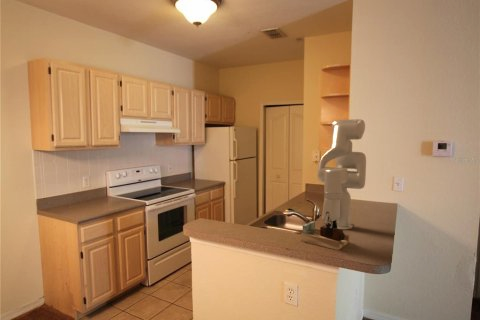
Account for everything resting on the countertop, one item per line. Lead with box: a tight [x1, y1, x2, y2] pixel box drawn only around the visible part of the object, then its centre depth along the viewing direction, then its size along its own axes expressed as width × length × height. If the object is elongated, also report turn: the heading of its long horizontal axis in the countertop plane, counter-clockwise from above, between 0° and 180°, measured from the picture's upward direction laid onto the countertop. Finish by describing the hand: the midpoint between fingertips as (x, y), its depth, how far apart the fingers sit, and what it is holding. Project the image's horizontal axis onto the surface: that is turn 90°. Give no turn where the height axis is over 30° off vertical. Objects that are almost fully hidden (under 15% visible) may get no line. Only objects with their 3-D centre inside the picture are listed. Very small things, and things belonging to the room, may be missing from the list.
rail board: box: [300, 220, 350, 251], centre depth 138 cm, size 13×18×7 cm
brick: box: [319, 225, 345, 241], centre depth 136 cm, size 11×4×5 cm, turn 41°
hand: (331, 234), depth 136 cm, fingers closed on brick, 4 cm apart
